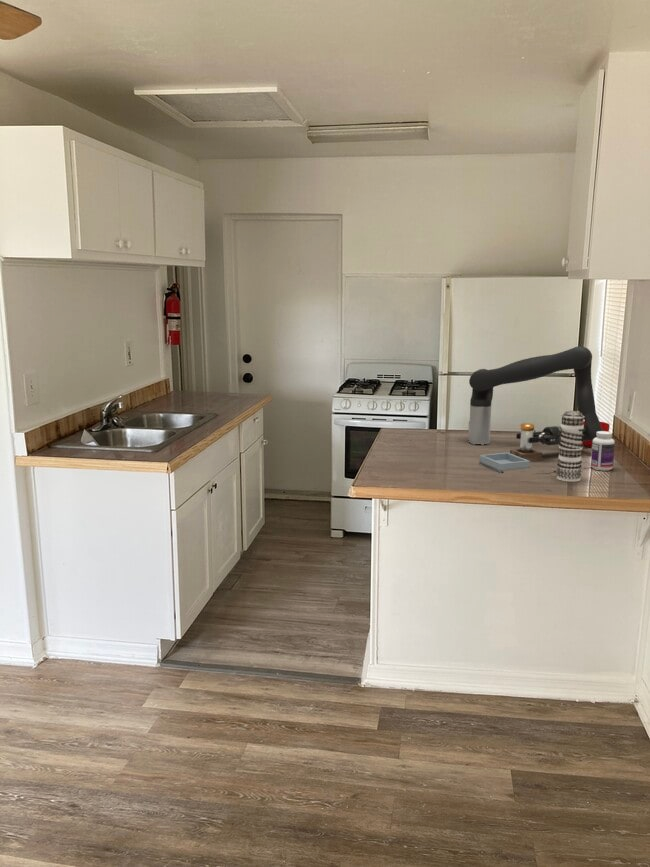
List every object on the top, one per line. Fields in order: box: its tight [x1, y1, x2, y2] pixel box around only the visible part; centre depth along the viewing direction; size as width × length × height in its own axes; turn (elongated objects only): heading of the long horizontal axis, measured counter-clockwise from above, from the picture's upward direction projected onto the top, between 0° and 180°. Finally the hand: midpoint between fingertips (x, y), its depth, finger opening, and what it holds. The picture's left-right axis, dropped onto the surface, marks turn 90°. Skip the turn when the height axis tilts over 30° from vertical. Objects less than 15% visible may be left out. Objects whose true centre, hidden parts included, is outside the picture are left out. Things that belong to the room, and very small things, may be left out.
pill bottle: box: [590, 431, 616, 472], centre depth 275 cm, size 8×8×14 cm
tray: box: [479, 452, 531, 474], centre depth 280 cm, size 15×13×4 cm
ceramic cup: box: [582, 420, 610, 448], centre depth 313 cm, size 13×17×10 cm
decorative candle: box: [556, 410, 585, 483], centre depth 261 cm, size 9×9×25 cm
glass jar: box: [519, 422, 535, 453], centre depth 288 cm, size 5×5×14 cm
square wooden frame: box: [509, 448, 543, 462], centre depth 289 cm, size 9×9×4 cm
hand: (523, 438), depth 287 cm, fingers open, 8 cm apart
